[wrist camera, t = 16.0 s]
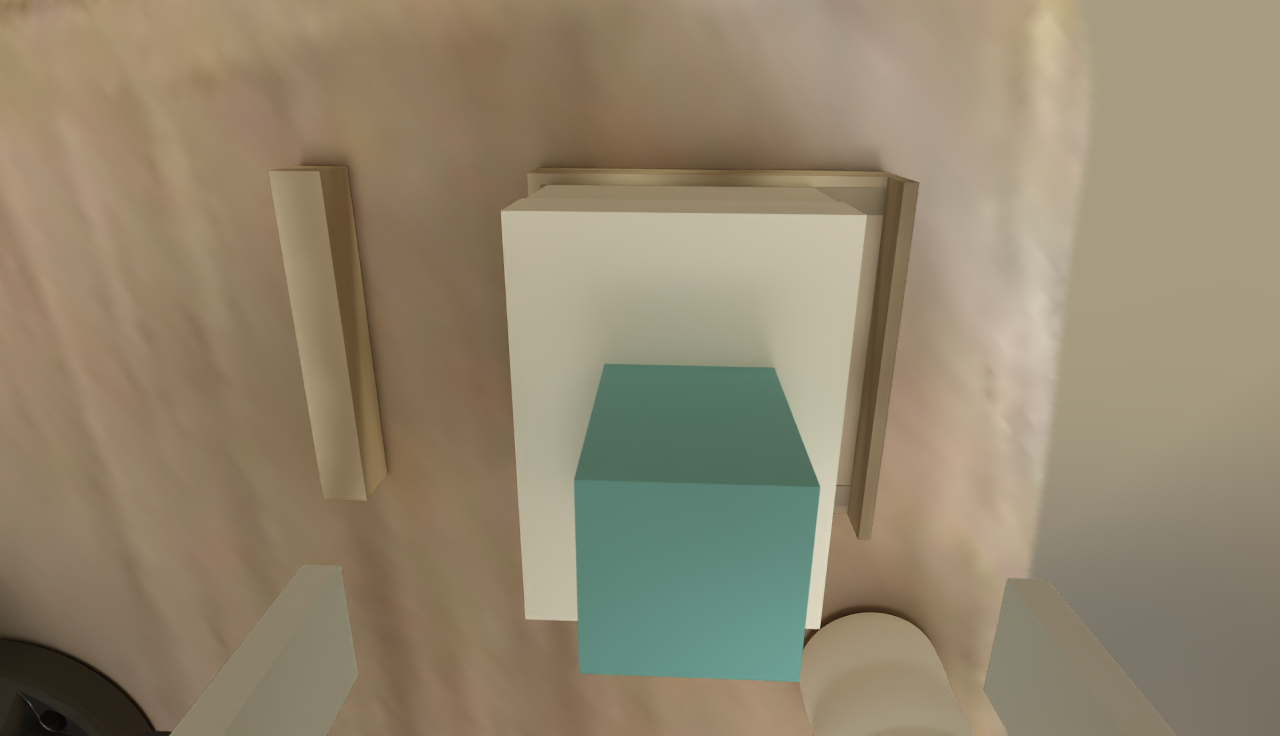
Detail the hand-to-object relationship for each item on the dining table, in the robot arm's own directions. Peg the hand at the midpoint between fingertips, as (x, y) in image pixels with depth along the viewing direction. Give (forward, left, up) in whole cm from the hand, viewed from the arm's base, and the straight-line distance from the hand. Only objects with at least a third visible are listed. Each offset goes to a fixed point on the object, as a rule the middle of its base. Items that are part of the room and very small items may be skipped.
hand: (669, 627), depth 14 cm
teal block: (0, 0, -8) cm, 8 cm away
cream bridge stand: (0, 0, -16) cm, 16 cm away
